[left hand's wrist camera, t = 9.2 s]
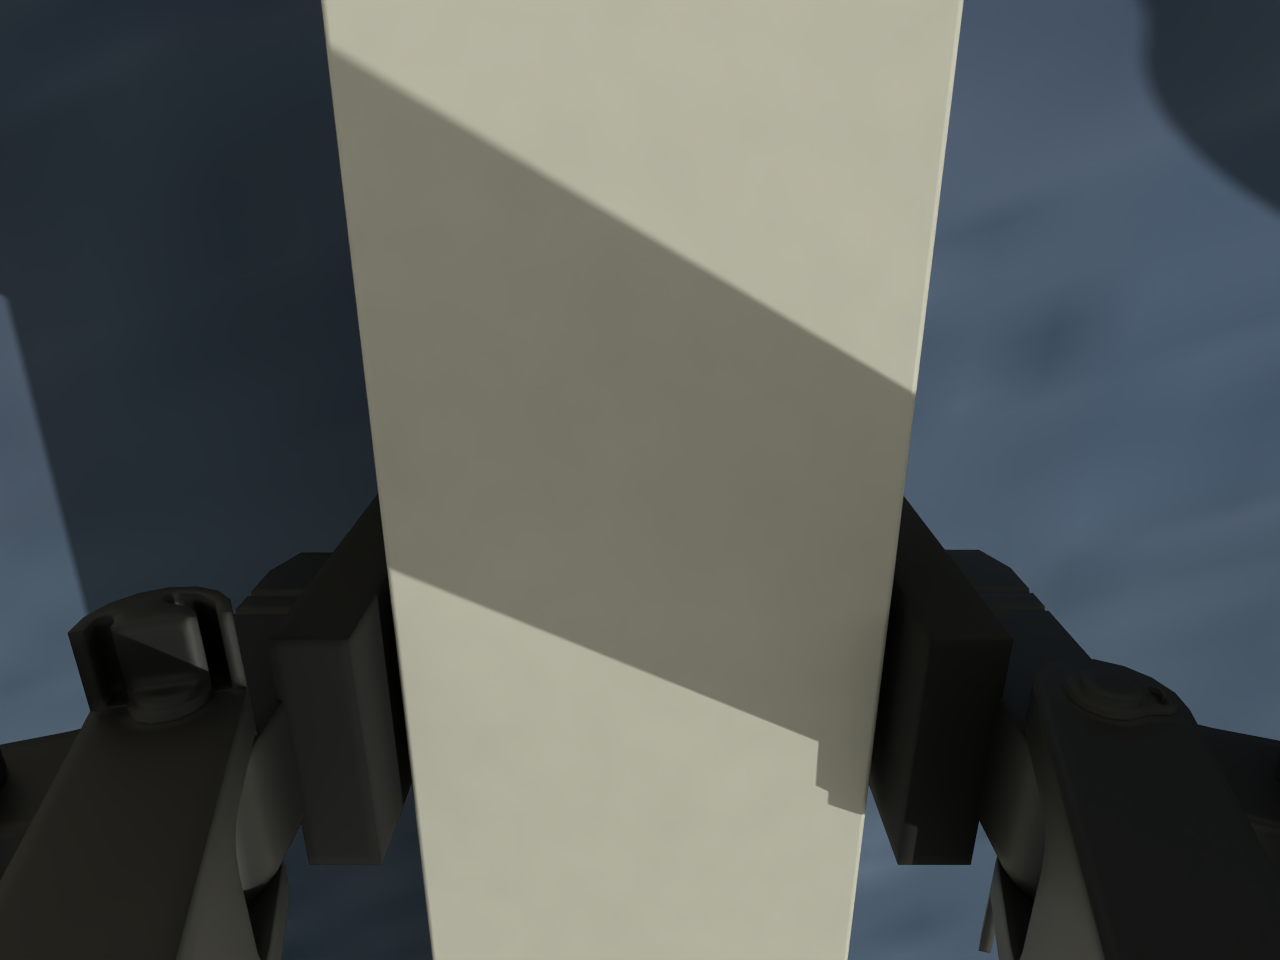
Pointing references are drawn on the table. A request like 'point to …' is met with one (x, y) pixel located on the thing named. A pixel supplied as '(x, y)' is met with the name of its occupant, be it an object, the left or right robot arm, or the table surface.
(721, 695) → the bar
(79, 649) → the left robot arm
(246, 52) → the table surface
